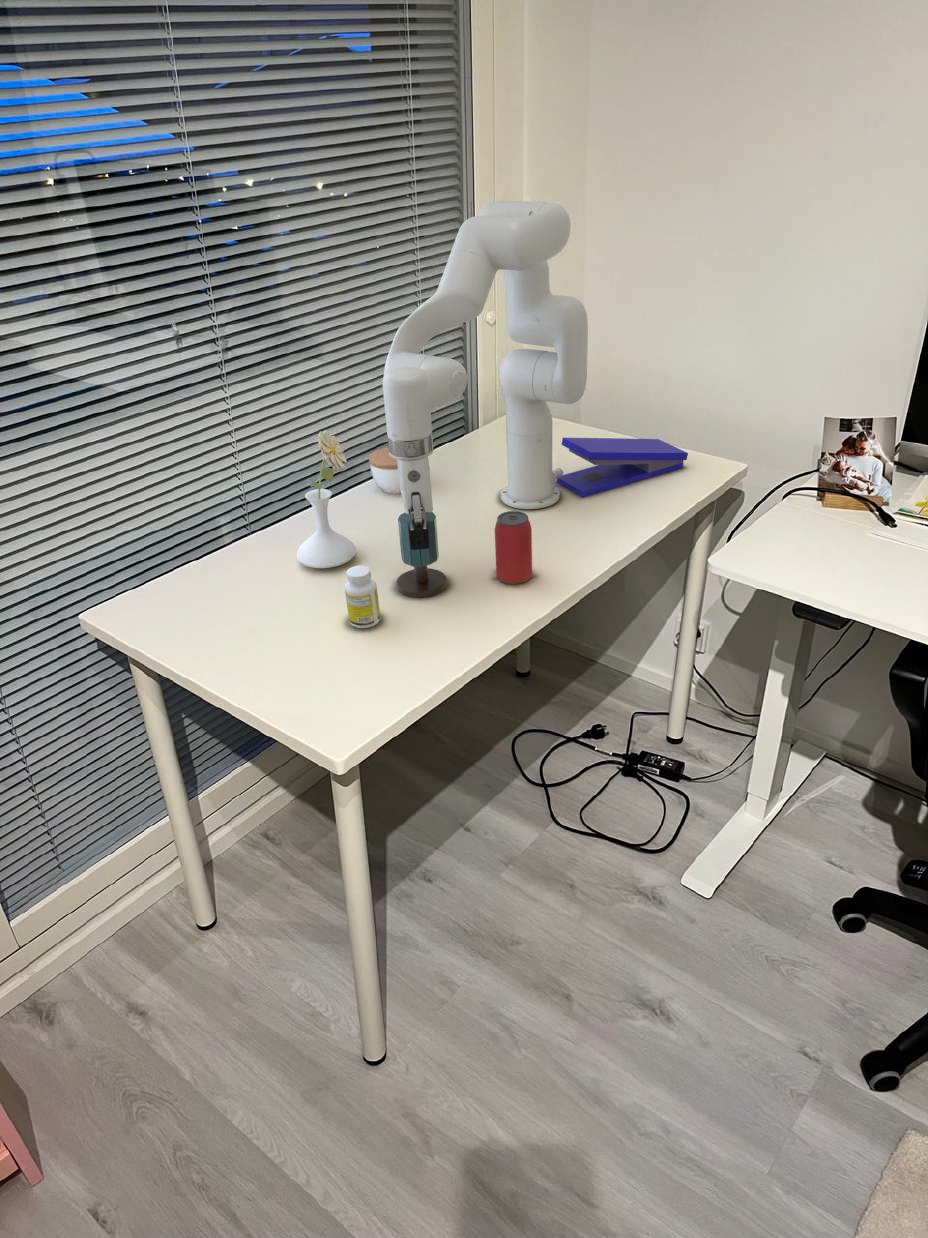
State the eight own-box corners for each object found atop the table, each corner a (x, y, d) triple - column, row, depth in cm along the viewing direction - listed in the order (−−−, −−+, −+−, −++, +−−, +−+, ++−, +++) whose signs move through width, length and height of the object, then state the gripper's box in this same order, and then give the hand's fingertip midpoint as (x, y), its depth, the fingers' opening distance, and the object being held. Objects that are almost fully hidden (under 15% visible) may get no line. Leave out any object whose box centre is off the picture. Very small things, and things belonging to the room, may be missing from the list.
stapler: (555, 481, 212) (555, 439, 207) (655, 452, 223) (657, 412, 218) (585, 498, 203) (586, 455, 198) (688, 468, 214) (691, 426, 209)
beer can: (532, 568, 178) (532, 509, 172) (531, 585, 172) (530, 525, 166) (497, 568, 179) (495, 509, 172) (495, 585, 173) (492, 525, 167)
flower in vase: (332, 579, 178) (315, 452, 165) (285, 566, 183) (265, 442, 170) (373, 550, 187) (360, 428, 174) (327, 538, 193) (311, 419, 180)
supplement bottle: (364, 609, 168) (358, 560, 163) (387, 618, 165) (381, 568, 160) (342, 623, 165) (335, 573, 159) (365, 632, 162) (358, 582, 156)
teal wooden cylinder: (418, 546, 176) (415, 506, 171) (445, 555, 172) (443, 515, 168) (394, 560, 171) (390, 519, 167) (421, 569, 168) (418, 528, 164)
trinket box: (429, 483, 214) (426, 444, 209) (401, 501, 206) (397, 460, 202) (391, 475, 219) (388, 436, 214) (362, 492, 212) (357, 452, 207)
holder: (419, 569, 180) (414, 505, 173) (456, 582, 175) (452, 517, 168) (387, 588, 174) (380, 524, 167) (424, 602, 169) (419, 536, 162)
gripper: (437, 461, 153) (443, 559, 163) (429, 424, 168) (435, 516, 177) (390, 465, 153) (399, 563, 162) (386, 427, 167) (395, 519, 177)
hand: (418, 538), depth 170 cm, fingers closed on teal wooden cylinder, 6 cm apart
